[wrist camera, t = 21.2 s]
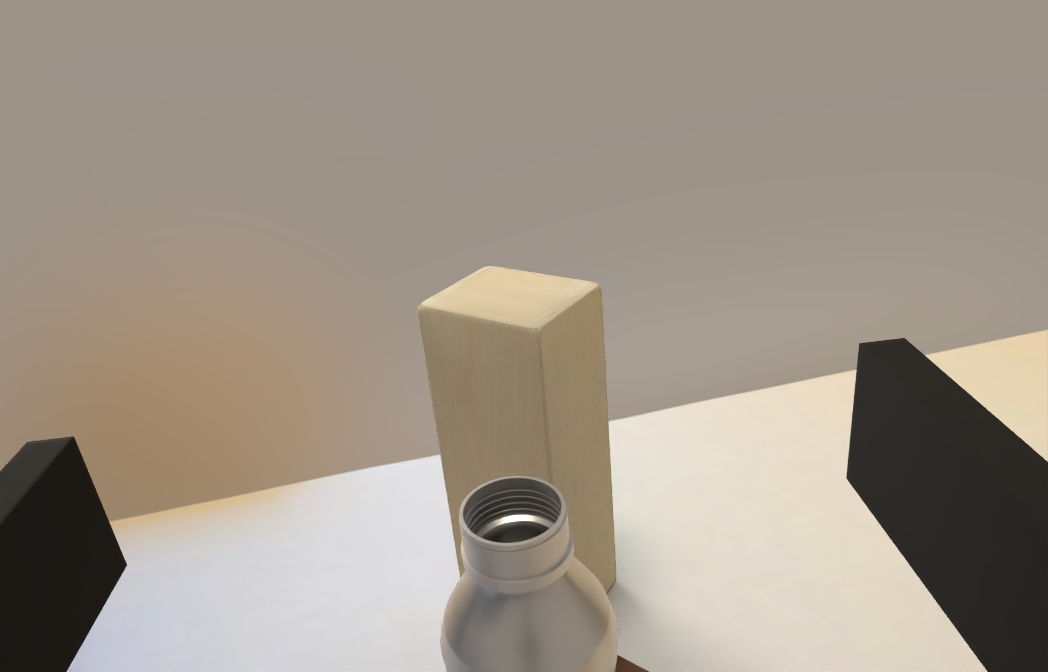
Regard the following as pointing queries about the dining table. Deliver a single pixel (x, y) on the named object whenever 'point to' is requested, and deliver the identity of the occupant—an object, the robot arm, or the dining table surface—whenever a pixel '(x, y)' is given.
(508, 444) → the toy refrigerator
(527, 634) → the silver metal bottle
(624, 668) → the walnut board
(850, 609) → the dining table surface
